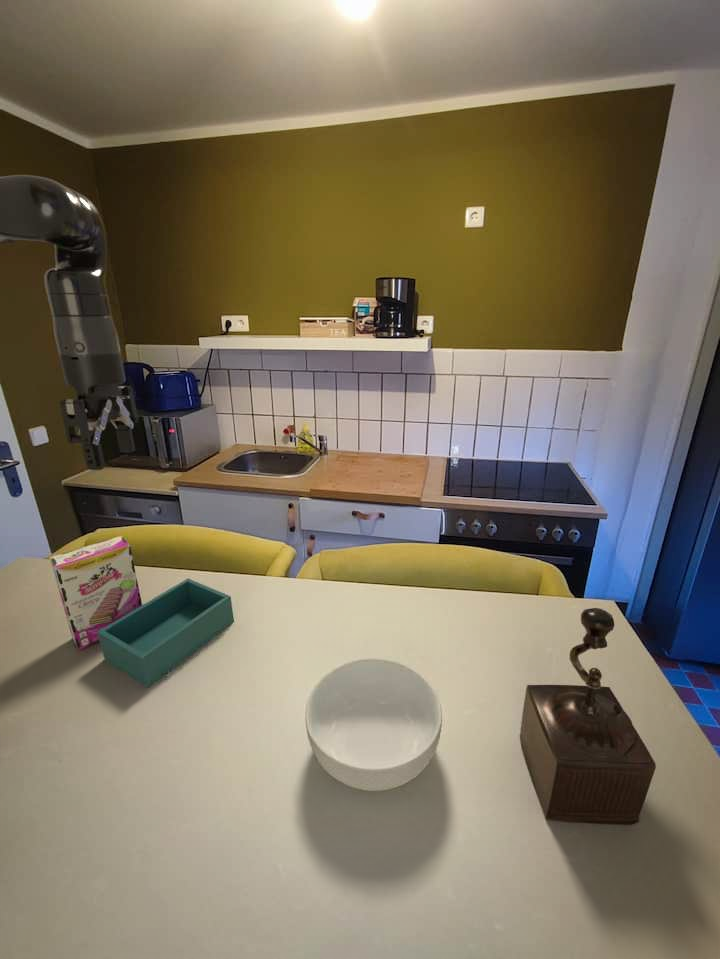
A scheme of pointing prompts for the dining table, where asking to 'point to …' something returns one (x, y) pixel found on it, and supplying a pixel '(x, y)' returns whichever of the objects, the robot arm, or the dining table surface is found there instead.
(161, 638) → the open rectangular box
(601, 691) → the manual coffee grinder
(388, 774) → the cereal bowl
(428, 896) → the dining table surface
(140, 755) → the dining table surface
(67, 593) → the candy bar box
